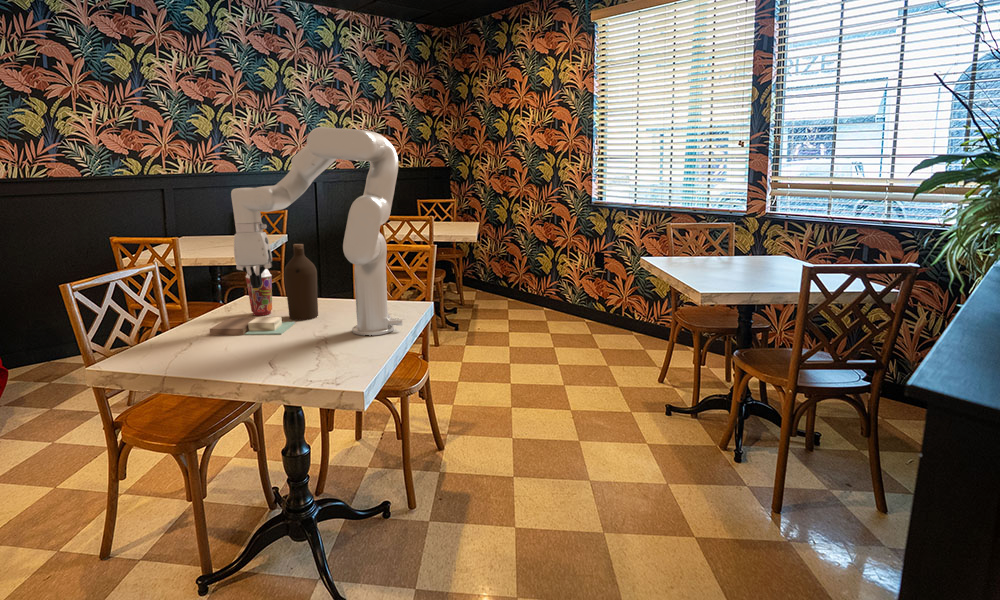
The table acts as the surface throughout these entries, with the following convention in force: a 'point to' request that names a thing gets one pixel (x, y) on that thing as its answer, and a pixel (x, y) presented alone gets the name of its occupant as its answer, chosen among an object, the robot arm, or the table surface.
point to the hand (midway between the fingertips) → (257, 287)
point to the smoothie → (261, 294)
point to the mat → (272, 332)
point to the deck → (232, 326)
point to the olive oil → (301, 286)
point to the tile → (265, 323)
